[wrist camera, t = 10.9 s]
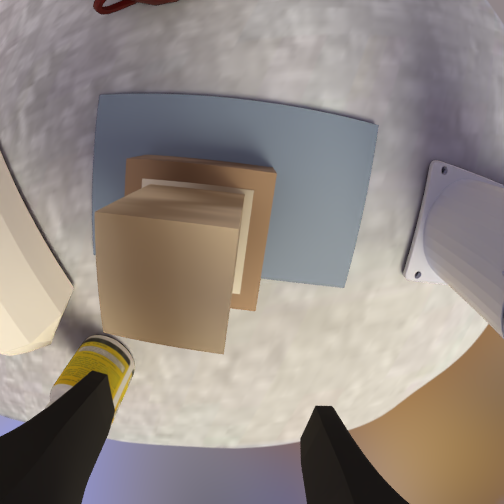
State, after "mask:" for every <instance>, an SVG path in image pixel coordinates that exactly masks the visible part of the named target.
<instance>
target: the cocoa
mask: <svg viewBox="0 0 504 504" xmlns="http://www.w3.org/2000/svg"><path fill="white" fill-rule="evenodd" d="M105 1H106V0H95V1H94V4H93V7H94V9H95V10H96V11H97V12H98V13H100V14H110V13H113V12H116V11H119V10H121V9H124V8H126V7H128V6H131V5H133V4H135V3H137V2H138V3H145V4H151V5H160V4H165V3H171V2H177V1H178V0H122V1H120V2H118V3H115V4H112V5H110V6H106V7H102V6H103V4H104V2H105Z"/></svg>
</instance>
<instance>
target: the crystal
mask: <svg viewBox="0 0 504 504" xmlns="http://www.w3.org/2000/svg"><path fill="white" fill-rule="evenodd" d="M73 290H74V287H73V285H72V284H71V282H70V281H69V279H68V278H67V276H66V275H65V273H64V272H63V270H62V269H61V267H60V265H59V264H58V262H57V261H56V259H55V257H54V256H53V254H52V253H51V251H50V249H49V248H48V246H47V244H46V242H45V241H44V239H43V237H42V235H41V234H40V232H39V230H38V228H37V227H36V225H35V223H34V221H33V219H32V217H31V215H30V214H29V212H28V210H27V208H26V206H25V204H24V202H23V200H22V198H21V196H20V194H19V192H18V190H17V188H16V185H15V183H14V181H13V179H12V177H11V175H10V172H9V170H8V168H7V166H6V163H5V161H4V159H3V156H2V154H1V151H0V354H4V355H8V356H11V355H17V354H22V353H27V352H31V351H33V350H36V349H39V348H42V347H44V346H47V345H50V344H51V342H52V340H53V337H54V335H55V332H56V330H57V327H58V325H59V323H60V320H61V318H62V315H63V313H64V311H65V308H66V306H67V304H68V301H69V299H70V297H71V294H72V292H73Z"/></svg>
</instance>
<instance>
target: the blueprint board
mask: <svg viewBox="0 0 504 504" xmlns="http://www.w3.org/2000/svg"><path fill="white" fill-rule="evenodd" d="M378 126H379V125H376V124H372V123H368V122H365V121H361V120H357V119H352V118H348V117H344V116H340V115H335V114H330V113H326V112H321V111H316V110H311V109H305V108H300V107H294V106H288V105H282V104H275V103H269V102H261V101H254V100H245V99H236V98H226V97H215V96H202V95H184V94H104V95H100V96H99V103H98V112H97V121H96V131H95V144H94V160H93V186H92V224H93V251H94V255H96V250H95V212H96V211H97V210H99V209H101V208H103V207H105V206H107V205H109V204H111V203H113V202H115V201H117V200H119V199H121V198H123V197H124V195H125V174H126V158H131V157H137V156H142V155H162V156H175V157H187V158H198V159H208V160H218V161H227V162H235V163H243V164H251V165H258V166H266V167H273V168H274V170H275V171H276V173H277V177H276V183H275V190H274V197H273V203H272V210H271V216H270V223H269V229H268V235H267V242H266V248H265V254H264V261H263V267H262V273H261V278H262V279H271V280H279V281H287V282H296V283H304V284H313V285H322V286H331V287H340V288H344V287H345V283H346V280H347V276H348V272H349V268H350V264H351V261H352V257H353V253H354V249H355V245H356V240H357V236H358V232H359V228H360V223H361V219H362V214H363V209H364V205H365V200H366V195H367V190H368V185H369V180H370V174H371V169H372V163H373V158H374V152H375V146H376V139H377V133H378Z"/></svg>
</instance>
